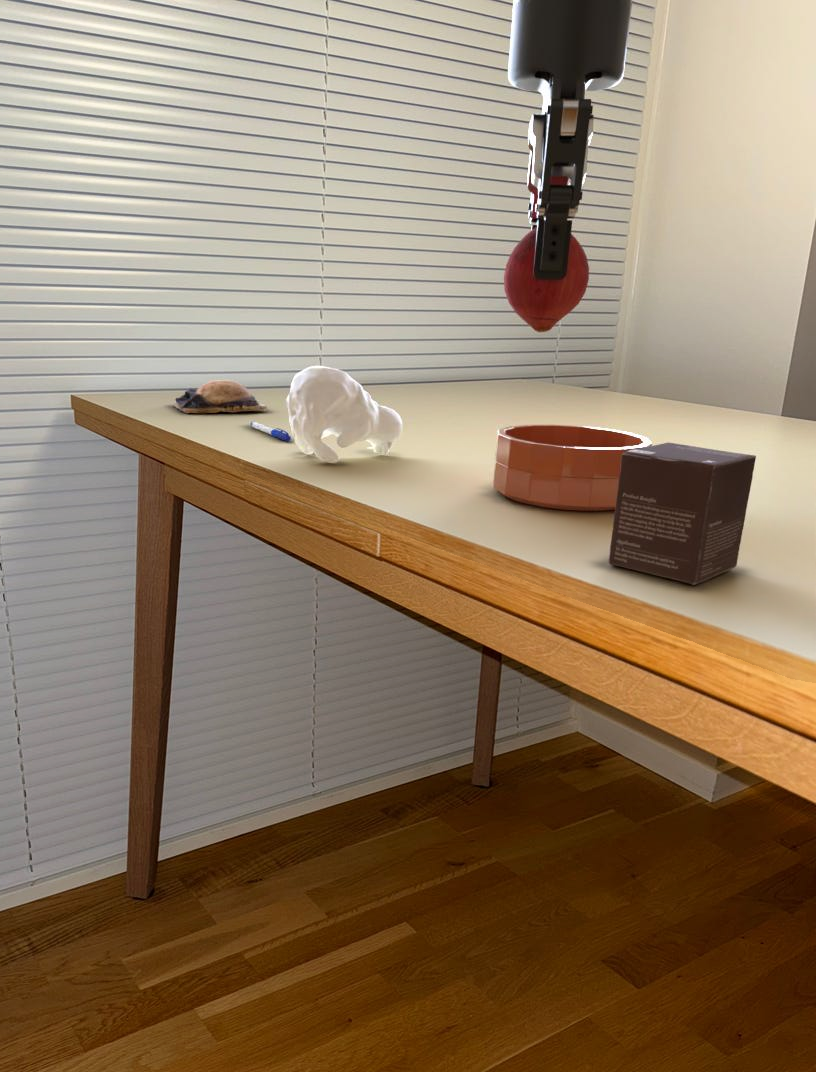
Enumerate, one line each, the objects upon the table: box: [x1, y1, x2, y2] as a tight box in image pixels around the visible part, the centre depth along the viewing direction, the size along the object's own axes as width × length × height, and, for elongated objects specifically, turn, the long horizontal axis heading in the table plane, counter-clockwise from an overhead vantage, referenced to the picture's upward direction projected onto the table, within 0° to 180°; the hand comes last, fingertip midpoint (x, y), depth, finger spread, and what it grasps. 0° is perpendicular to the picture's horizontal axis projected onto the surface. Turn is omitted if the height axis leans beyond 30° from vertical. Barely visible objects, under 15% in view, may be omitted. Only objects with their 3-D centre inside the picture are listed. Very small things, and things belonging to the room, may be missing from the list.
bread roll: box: [173, 379, 268, 414], centre depth 122 cm, size 11×8×4 cm
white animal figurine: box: [285, 365, 404, 464], centre depth 93 cm, size 6×8×12 cm
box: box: [608, 442, 757, 586], centre depth 60 cm, size 6×6×7 cm
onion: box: [503, 227, 590, 333], centre depth 68 cm, size 6×6×8 cm
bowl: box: [492, 424, 653, 512], centre depth 80 cm, size 12×12×5 cm
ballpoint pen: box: [249, 421, 292, 442], centre depth 105 cm, size 10×1×1 cm, turn 28°
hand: (545, 278), depth 68 cm, fingers closed on onion, 6 cm apart
